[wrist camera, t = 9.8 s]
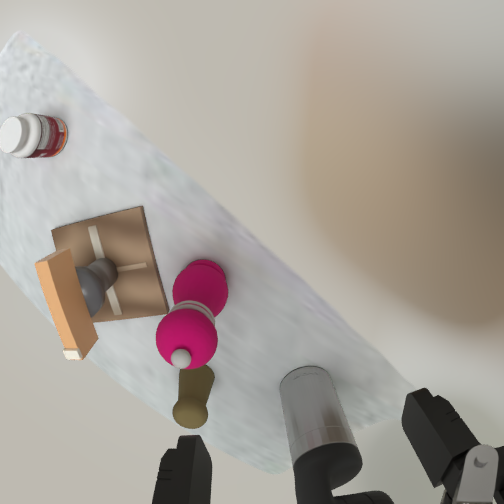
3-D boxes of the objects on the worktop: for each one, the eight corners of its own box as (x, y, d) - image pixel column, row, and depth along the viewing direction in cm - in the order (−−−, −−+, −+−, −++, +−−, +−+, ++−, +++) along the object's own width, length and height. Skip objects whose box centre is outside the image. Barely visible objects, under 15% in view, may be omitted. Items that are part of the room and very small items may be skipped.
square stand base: (169, 310, 44) (157, 337, 36) (84, 320, 44) (62, 344, 36) (142, 205, 40) (121, 215, 32) (54, 228, 40) (25, 241, 32)
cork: (185, 356, 46) (174, 402, 36) (219, 369, 47) (216, 416, 37) (175, 381, 48) (163, 426, 37) (207, 392, 49) (202, 438, 38)
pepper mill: (226, 305, 44) (218, 399, 25) (177, 299, 44) (141, 387, 24) (232, 259, 42) (226, 335, 23) (181, 252, 42) (137, 321, 22)
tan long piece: (91, 240, 32) (60, 259, 25) (118, 329, 36) (96, 362, 28) (53, 248, 32) (19, 267, 25) (79, 331, 36) (55, 361, 28)
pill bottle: (35, 153, 36) (-10, 154, 26) (45, 115, 35) (1, 108, 24) (62, 161, 37) (18, 163, 26) (73, 121, 36) (30, 113, 25)
